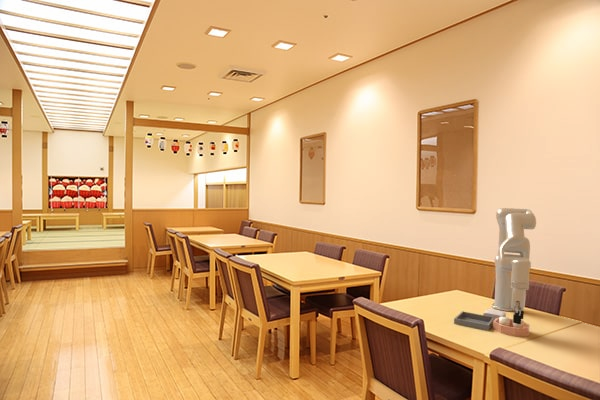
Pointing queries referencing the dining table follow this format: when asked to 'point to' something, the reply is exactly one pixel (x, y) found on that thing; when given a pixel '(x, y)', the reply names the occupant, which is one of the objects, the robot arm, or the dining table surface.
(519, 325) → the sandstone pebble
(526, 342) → the dining table surface
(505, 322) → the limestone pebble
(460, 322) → the parts tray
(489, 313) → the charger
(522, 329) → the bowl
